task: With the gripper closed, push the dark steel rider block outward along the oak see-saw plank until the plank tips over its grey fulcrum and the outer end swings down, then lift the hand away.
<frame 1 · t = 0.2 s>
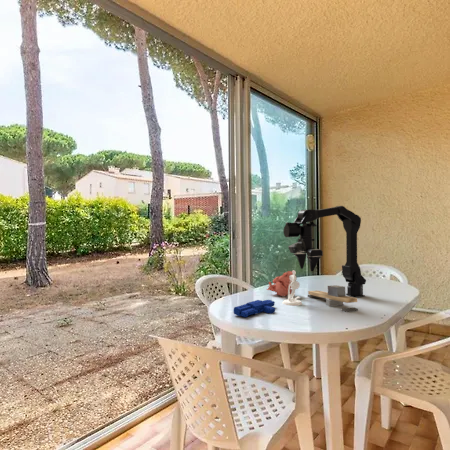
hand: (306, 269, 159), 14 cm above the table, tool pointing down, fingers open, 9 cm apart
toy gun: (258, 313, 139), on the table
rider: (336, 295, 148), point 4 cm above the table, tilted 5°, touching beam
beam: (330, 296, 152), point 3 cm above the table, hinge at 5.0°, touching rider
figurine: (292, 303, 154), on the table
anatomical model: (280, 295, 170), on the table
stand: (334, 304, 150), on the table
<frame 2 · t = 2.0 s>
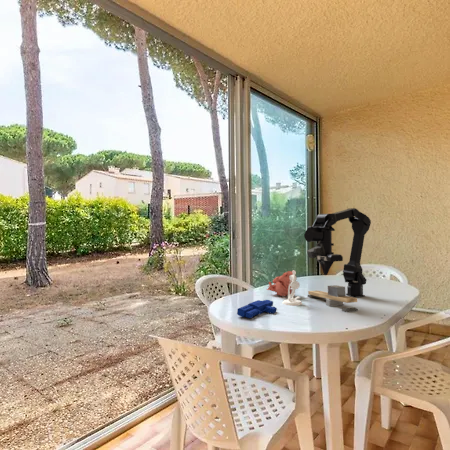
hand: (325, 275, 156), 12 cm above the table, tool pointing down, fingers closed
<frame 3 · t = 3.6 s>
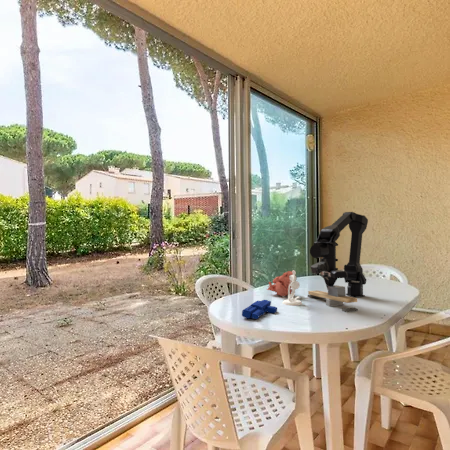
hand: (329, 290, 153), 5 cm above the table, tool pointing down, fingers closed
rider: (336, 295, 148), point 4 cm above the table, touching beam, gripper
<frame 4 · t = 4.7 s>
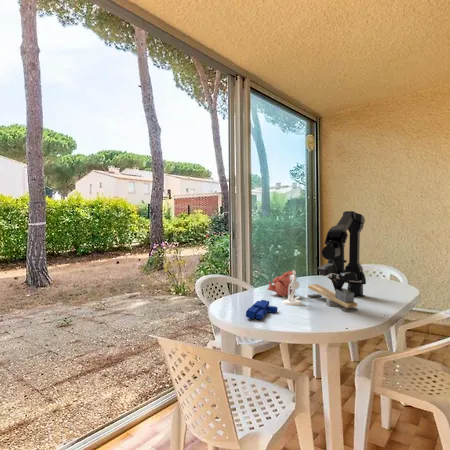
hand: (337, 293, 147), 5 cm above the table, tool pointing down, fingers closed
rider: (344, 300, 143), point 4 cm above the table, tilted 5°, touching beam, gripper
beam: (330, 294, 152), point 4 cm above the table, hinge at -5.0°, touching rider
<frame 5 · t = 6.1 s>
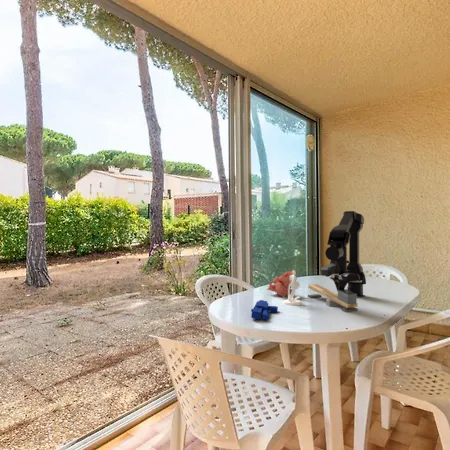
hand: (339, 294, 146), 5 cm above the table, tool pointing down, fingers closed
rider: (346, 301, 141), point 3 cm above the table, tilted 5°, touching beam, gripper
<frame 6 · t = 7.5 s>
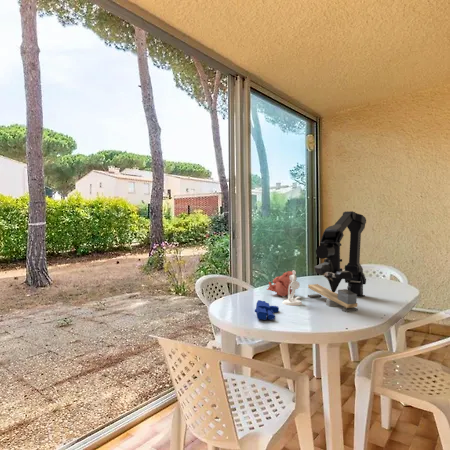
hand: (333, 292, 150), 5 cm above the table, tool pointing down, fingers closed
rider: (346, 301, 141), point 3 cm above the table, tilted 5°, touching beam
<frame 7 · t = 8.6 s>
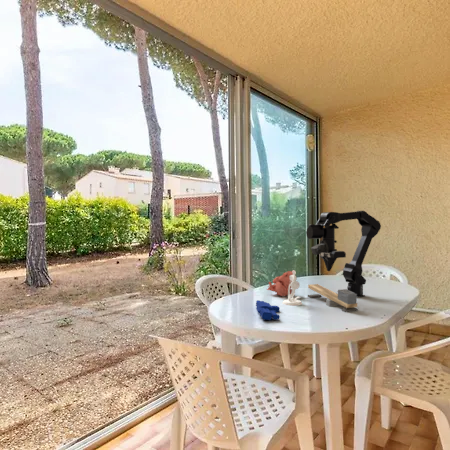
hand: (328, 271, 162), 13 cm above the table, tool pointing down, fingers closed
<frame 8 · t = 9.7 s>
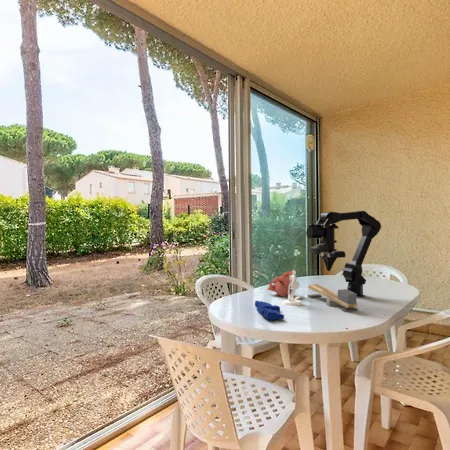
hand: (328, 270, 162), 13 cm above the table, tool pointing down, fingers closed
at the end: beam at -5° (first picture: +5°); rider inside the target area on the beam (0.2 cm from its centre), point 0.0 cm above the beam's base; rider touching beam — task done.
